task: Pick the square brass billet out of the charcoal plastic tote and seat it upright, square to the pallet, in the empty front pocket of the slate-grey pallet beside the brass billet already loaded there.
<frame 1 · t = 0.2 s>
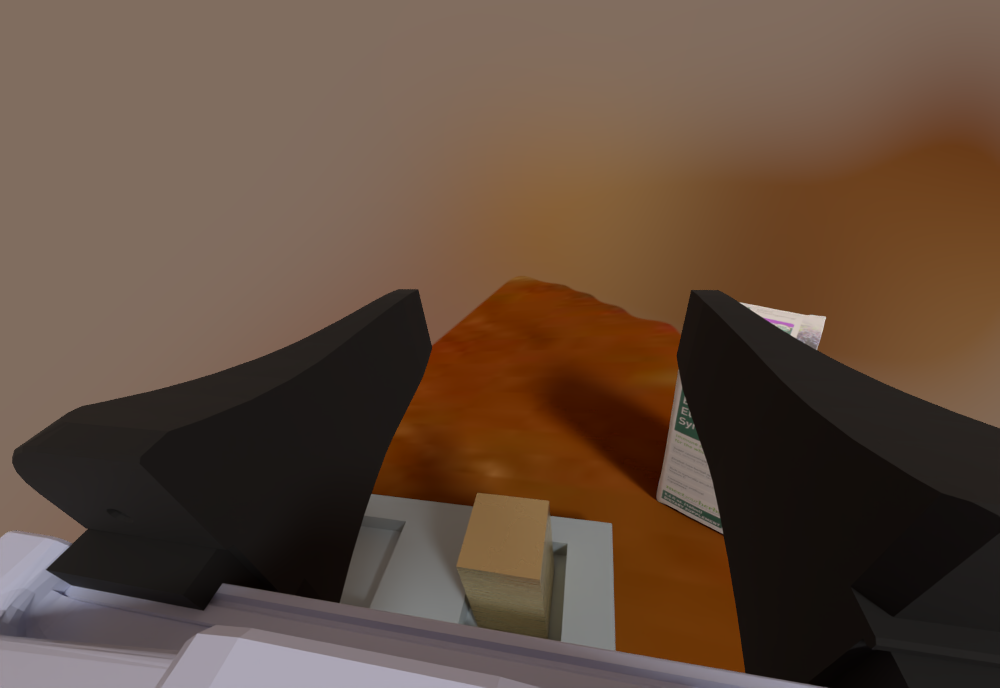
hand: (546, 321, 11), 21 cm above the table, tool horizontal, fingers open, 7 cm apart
pallet: (436, 588, 25), on the table
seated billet: (518, 595, 23), point 1 cm above the table, touching pallet
syrup box: (706, 493, 29), on the table
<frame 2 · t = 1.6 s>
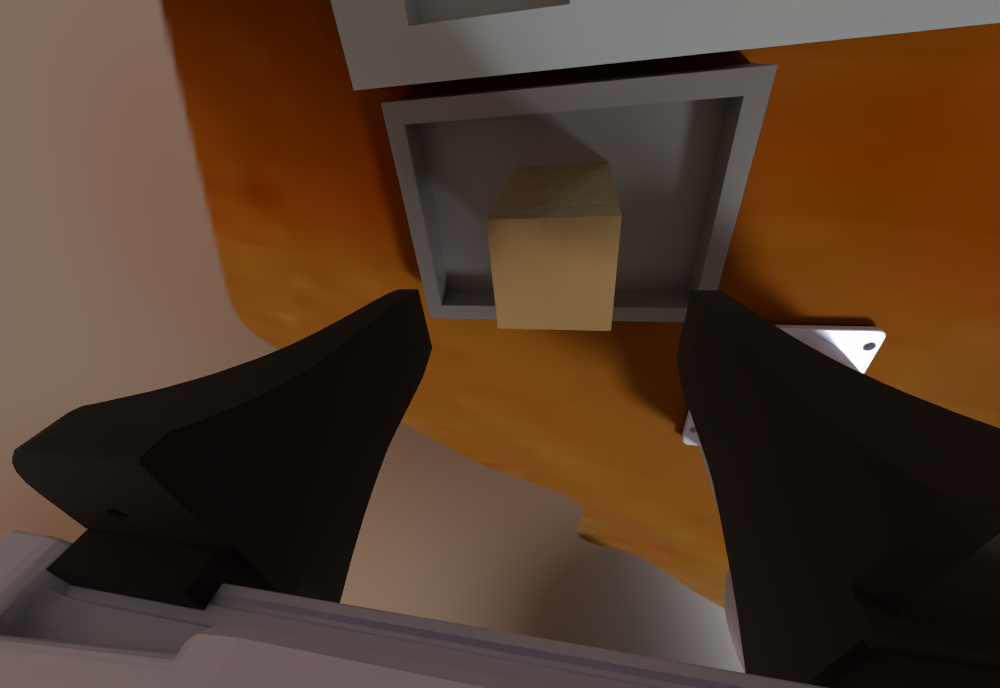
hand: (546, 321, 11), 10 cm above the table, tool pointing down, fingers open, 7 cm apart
tote: (562, 205, 19), on the table
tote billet: (561, 210, 18), point 1 cm above the table, touching tote
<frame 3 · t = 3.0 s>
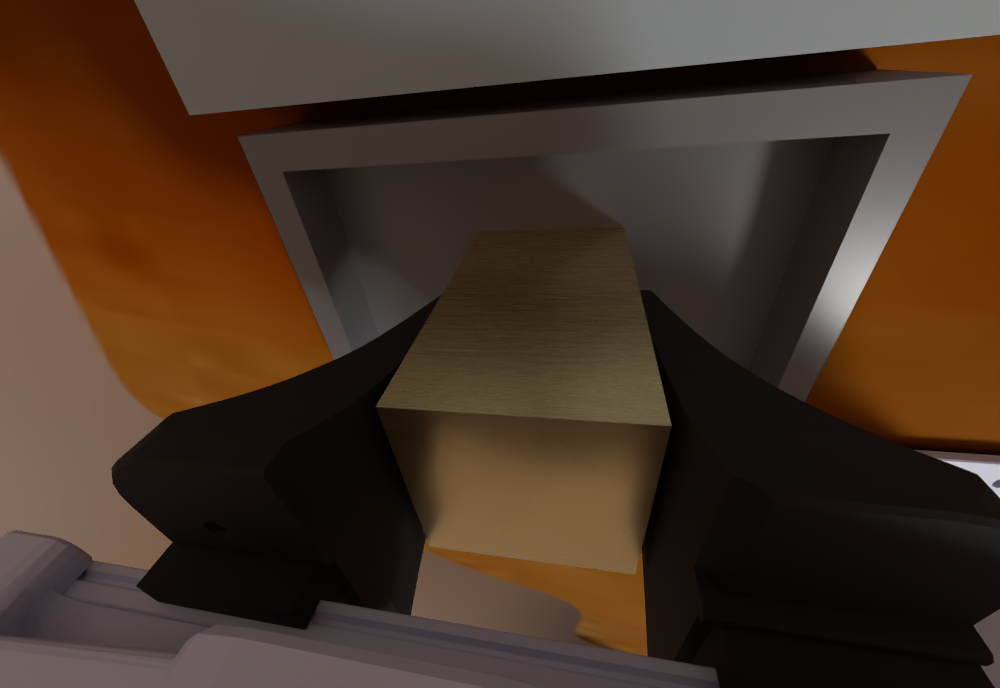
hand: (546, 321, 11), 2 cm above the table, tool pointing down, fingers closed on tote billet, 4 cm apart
tote: (552, 281, 13), on the table
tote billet: (550, 293, 12), point 1 cm above the table, touching gripper, tote
when the fingers open (3 cm above the table, at t = 6.7 s): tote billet stays where it is, resting on pallet.
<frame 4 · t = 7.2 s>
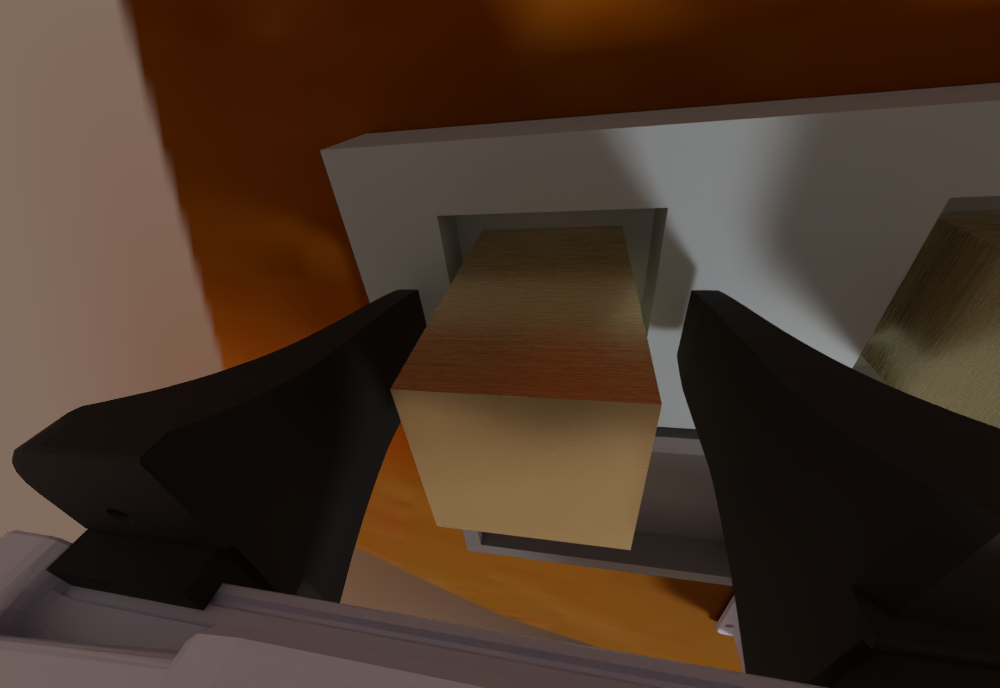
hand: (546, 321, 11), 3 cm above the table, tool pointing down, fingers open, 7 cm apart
pallet: (732, 270, 12), on the table
tote: (608, 464, 18), on the table
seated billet: (972, 285, 10), point 1 cm above the table, touching pallet
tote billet: (550, 289, 12), point 1 cm above the table, touching pallet
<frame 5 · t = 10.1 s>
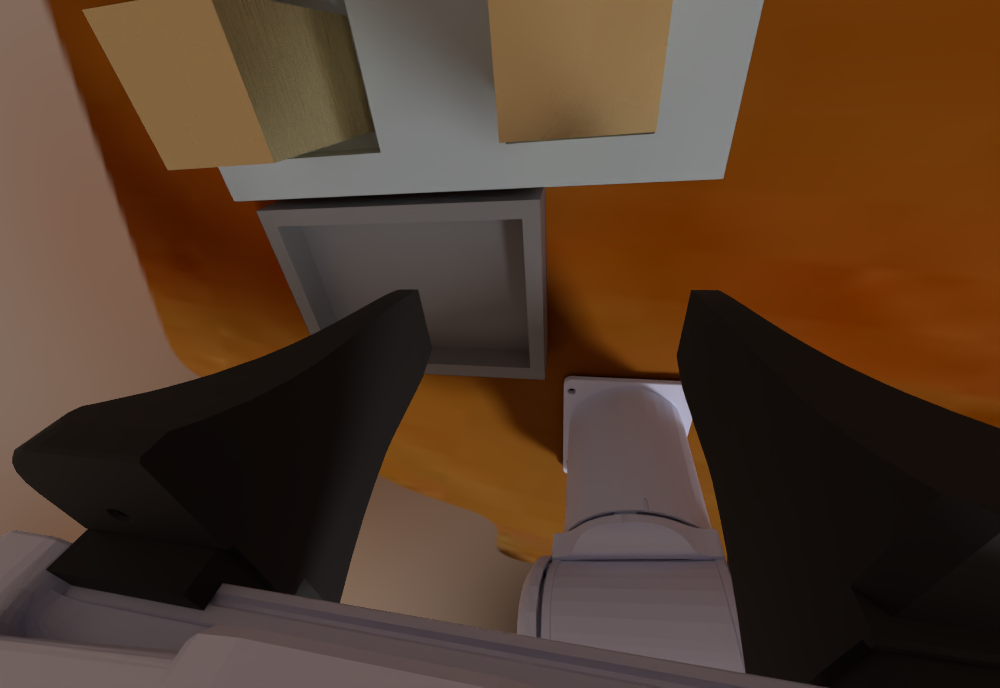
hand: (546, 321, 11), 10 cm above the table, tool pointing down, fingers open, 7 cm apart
pallet: (447, 64, 16), on the table
tote: (426, 280, 23), on the table
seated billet: (580, 49, 15), point 1 cm above the table, touching pallet
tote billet: (318, 82, 17), point 1 cm above the table, touching pallet
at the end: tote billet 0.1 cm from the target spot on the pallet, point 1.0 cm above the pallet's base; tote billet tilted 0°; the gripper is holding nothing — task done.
